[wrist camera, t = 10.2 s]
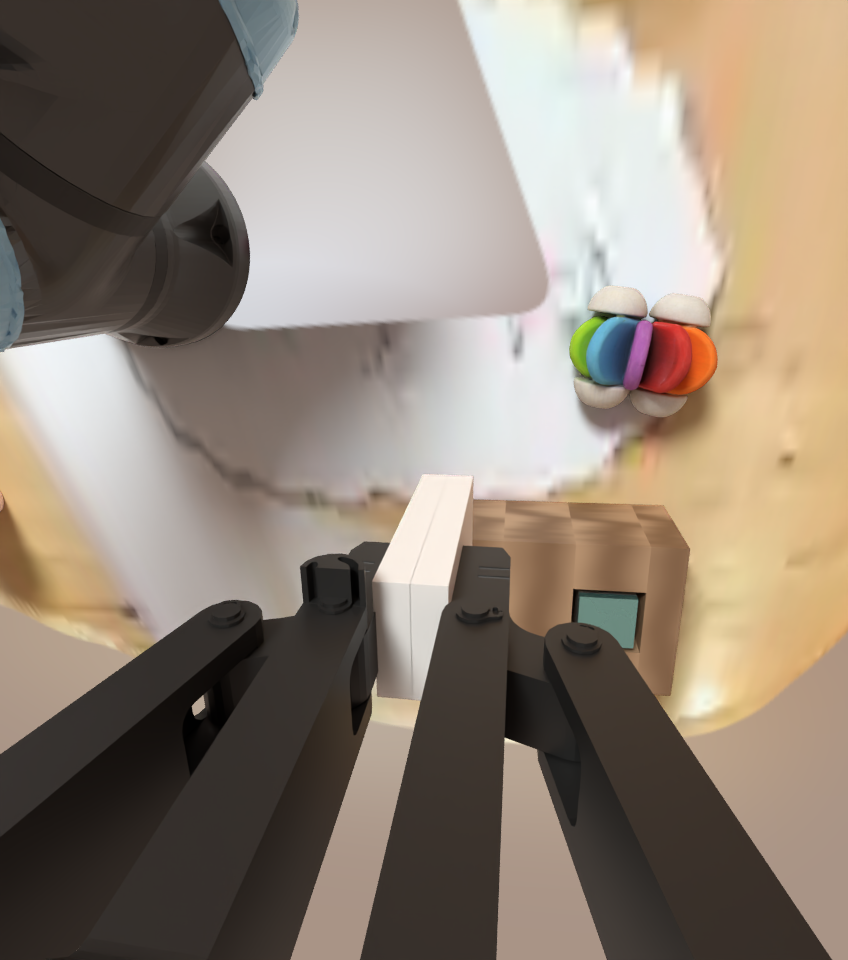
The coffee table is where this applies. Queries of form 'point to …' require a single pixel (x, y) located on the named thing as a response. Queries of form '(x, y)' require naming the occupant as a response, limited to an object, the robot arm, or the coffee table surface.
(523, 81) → the coffee table surface
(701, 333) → the rainbow disc car
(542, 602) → the socket block
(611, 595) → the peg
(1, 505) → the smoothie
